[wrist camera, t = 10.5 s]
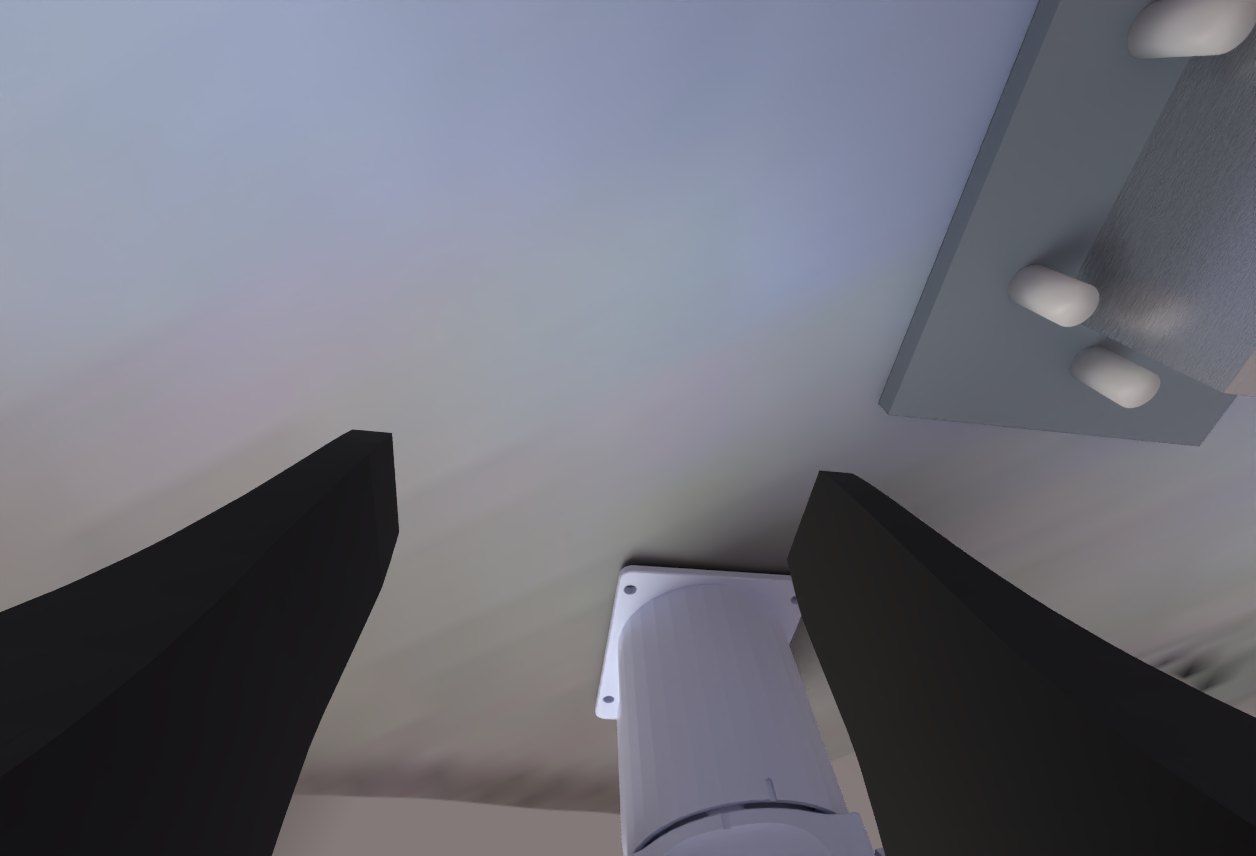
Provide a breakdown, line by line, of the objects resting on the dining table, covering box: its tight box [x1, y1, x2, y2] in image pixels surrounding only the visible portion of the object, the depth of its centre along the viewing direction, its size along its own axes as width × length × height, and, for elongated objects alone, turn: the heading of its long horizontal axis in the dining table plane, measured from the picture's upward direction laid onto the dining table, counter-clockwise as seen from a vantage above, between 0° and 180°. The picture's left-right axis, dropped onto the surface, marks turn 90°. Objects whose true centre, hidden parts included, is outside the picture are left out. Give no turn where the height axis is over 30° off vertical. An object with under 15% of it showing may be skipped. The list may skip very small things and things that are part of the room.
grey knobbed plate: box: [878, 0, 1256, 446], centre depth 16 cm, size 16×12×3 cm
